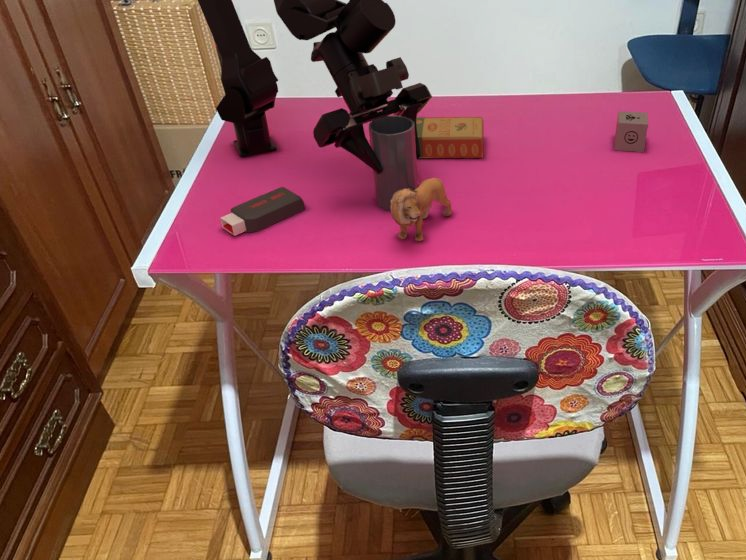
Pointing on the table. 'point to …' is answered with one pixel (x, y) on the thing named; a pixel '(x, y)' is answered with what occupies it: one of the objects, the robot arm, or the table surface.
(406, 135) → the pen pot
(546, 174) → the table surface
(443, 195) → the lion figurine
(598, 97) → the table surface
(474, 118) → the carton
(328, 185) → the table surface
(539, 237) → the table surface
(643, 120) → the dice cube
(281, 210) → the usb drive
